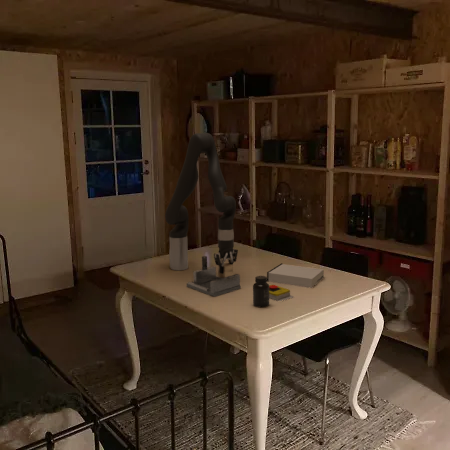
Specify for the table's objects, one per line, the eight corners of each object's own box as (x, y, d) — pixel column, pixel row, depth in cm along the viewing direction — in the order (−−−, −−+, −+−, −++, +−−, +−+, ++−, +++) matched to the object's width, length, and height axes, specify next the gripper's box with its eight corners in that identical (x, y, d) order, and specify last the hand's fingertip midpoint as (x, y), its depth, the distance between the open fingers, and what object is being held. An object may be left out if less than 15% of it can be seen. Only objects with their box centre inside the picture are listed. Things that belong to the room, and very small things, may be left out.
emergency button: (270, 280, 233) (294, 288, 222) (270, 290, 234) (294, 298, 223) (255, 285, 227) (280, 293, 216) (255, 294, 228) (280, 303, 217)
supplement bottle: (268, 301, 218) (268, 274, 215) (270, 307, 211) (270, 279, 209) (252, 302, 218) (252, 275, 215) (253, 307, 211) (253, 280, 208)
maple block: (218, 276, 248) (218, 264, 247) (225, 274, 251) (225, 262, 250) (225, 278, 244) (225, 266, 243) (232, 276, 248) (232, 264, 246)
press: (186, 286, 239) (186, 273, 238) (212, 279, 250) (212, 266, 248) (214, 297, 224) (214, 282, 223) (240, 288, 235) (240, 275, 234)
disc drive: (281, 272, 260) (281, 263, 259) (323, 278, 249) (324, 268, 248) (266, 282, 245) (266, 272, 244) (311, 289, 234) (311, 278, 233)
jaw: (193, 283, 238) (192, 258, 236) (213, 278, 246) (212, 253, 243) (196, 284, 236) (195, 259, 234) (216, 279, 244) (215, 254, 242)
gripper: (231, 234, 251) (231, 267, 254) (209, 239, 242) (209, 273, 245) (242, 236, 245) (242, 270, 249) (219, 241, 236) (220, 276, 240)
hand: (226, 271), depth 247 cm, fingers closed on maple block, 5 cm apart
